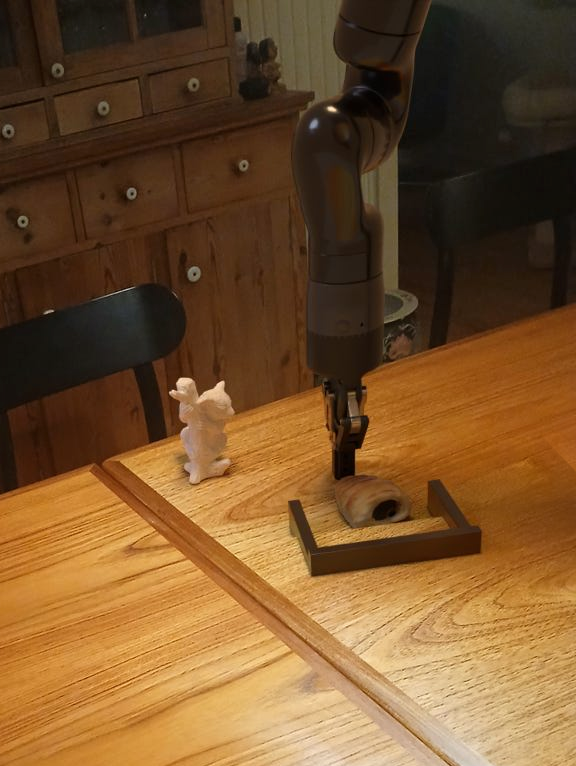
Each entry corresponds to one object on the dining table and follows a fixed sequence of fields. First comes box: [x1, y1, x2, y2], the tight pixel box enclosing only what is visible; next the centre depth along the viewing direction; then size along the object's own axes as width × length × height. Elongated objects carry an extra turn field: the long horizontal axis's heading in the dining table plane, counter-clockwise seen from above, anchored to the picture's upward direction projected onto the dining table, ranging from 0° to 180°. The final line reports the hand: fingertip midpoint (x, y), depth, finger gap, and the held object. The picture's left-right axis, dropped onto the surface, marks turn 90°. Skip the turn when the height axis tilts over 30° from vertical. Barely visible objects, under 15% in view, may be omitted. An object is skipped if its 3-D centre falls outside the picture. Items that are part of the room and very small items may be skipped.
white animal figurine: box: [168, 377, 236, 485], centre depth 114 cm, size 8×7×12 cm
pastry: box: [333, 474, 413, 530], centre depth 102 cm, size 9×7×4 cm
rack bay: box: [287, 478, 483, 577], centre depth 96 cm, size 15×13×4 cm
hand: (343, 476), depth 107 cm, fingers closed
